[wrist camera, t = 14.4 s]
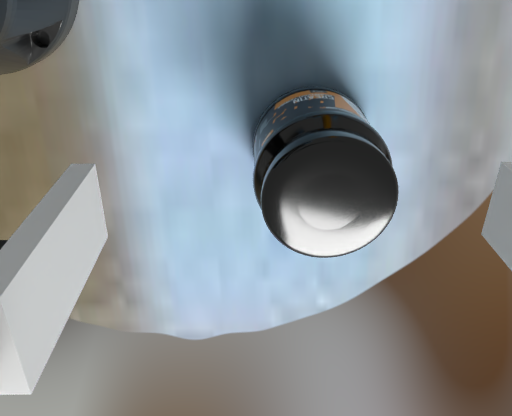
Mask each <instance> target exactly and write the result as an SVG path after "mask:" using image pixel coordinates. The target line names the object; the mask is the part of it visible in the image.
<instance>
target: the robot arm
mask: <svg viewBox="0 0 512 416" xmlns="http://www.w3.org/2000/svg"><path fill="white" fill-rule="evenodd" d="M78 4H79V0H0V75H1V74H8V73H13V72H17V71H20V70H23V69H25V68H28V67H30V66H32V65H34V64H36V63H37V62H39V61H41V60H43V59H45V58H46V57H48V56H49V55H50V54H52V53H53V52H54V51H55V50H56V49H57V48H58V47H59V46H60V45H61V44H62V42H63V41H64V40H65V38H66V37H67V35H68V33H69V31H70V30H71V28H72V25H73V23H74V20H75V17H76V14H77V9H78ZM482 236H483V237H484V238H485V239H486V240H487V242H488V243H489V244H490V245H491V246H492V248H493V249H494V250H495V251H496V252H497V254H498V255H499V256H500V257H501V259H502V260H503V261H504V262H505V263H506V264H507V266H508V267H509V268H510V269H511V271H512V162H501V164H500V168H499V172H498V175H497V179H496V183H495V186H494V190H493V194H492V197H491V201H490V205H489V208H488V212H487V216H486V219H485V223H484V227H483V230H482ZM107 238H108V234H107V228H106V223H105V217H104V211H103V205H102V200H101V194H100V188H99V183H98V177H97V171H96V166H95V164H71V165H70V166H69V167H68V168H67V170H66V171H65V172H64V173H63V174H62V176H61V177H60V178H59V179H58V180H57V182H56V183H55V184H54V185H53V186H52V188H51V189H50V190H49V191H48V193H47V194H46V195H45V196H44V197H43V199H42V200H41V201H40V202H39V203H38V205H37V206H36V207H35V208H34V210H33V211H32V212H31V213H30V214H29V216H28V217H27V218H26V219H25V220H24V222H23V223H22V224H21V225H20V226H19V228H18V229H17V230H16V231H15V233H14V234H13V235H12V236H11V237H10V239H9V240H0V395H5V394H6V395H8V394H32V392H33V390H34V388H35V386H36V384H37V381H38V379H39V377H40V375H41V373H42V371H43V369H44V367H45V365H46V363H47V361H48V359H49V357H50V355H51V353H52V351H53V349H54V347H55V345H56V342H57V340H58V338H59V336H60V334H61V332H62V330H63V328H64V326H65V324H66V322H67V320H68V318H69V316H70V314H71V312H72V310H73V308H74V305H75V303H76V301H77V299H78V297H79V295H80V293H81V291H82V289H83V287H84V285H85V283H86V281H87V279H88V277H89V275H90V273H91V271H92V268H93V266H94V264H95V262H96V260H97V258H98V256H99V254H100V252H101V250H102V248H103V246H104V244H105V242H106V240H107Z"/></svg>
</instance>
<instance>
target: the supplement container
mask: <svg viewBox="0 0 512 416" xmlns="http://www.w3.org/2000/svg"><path fill="white" fill-rule="evenodd" d="M253 155H254V172H253V187H254V192H255V196H256V199H257V202H258V204H259V206H260V208H261V210H262V214H263V217H264V220H265V222H266V225H267V227H268V228H269V230H270V232H271V233H272V234H273V235H274V237H275V238H276V239H277V240H278V241H279V242H281V243H282V244H283V245H284V246H286V247H287V248H289V249H291V250H293V251H295V252H297V253H300V254H303V255H306V256H311V257H319V258H328V257H337V256H342V255H346V254H349V253H352V252H355V251H357V250H359V249H361V248H363V247H365V246H366V245H368V244H369V243H371V242H372V241H373V240H374V239H376V238H377V237H378V236H379V235H380V234H381V233H382V232H383V230H384V229H385V228H386V227H387V225H388V224H389V222H390V220H391V219H392V217H393V214H394V212H395V209H396V206H397V201H398V182H397V178H396V174H395V172H394V169H393V166H392V160H391V156H390V152H389V150H388V148H387V145H386V144H385V142H384V140H383V139H382V137H381V136H380V135H379V133H378V132H377V131H376V130H375V129H374V128H373V127H372V126H371V125H370V124H369V122H368V121H367V119H366V117H365V115H364V114H363V112H362V111H361V109H360V108H359V107H358V106H357V104H356V103H355V102H354V101H352V100H351V99H350V98H349V97H347V96H346V95H344V94H342V93H340V92H338V91H335V90H333V89H329V88H324V87H306V88H300V89H297V90H294V91H291V92H289V93H287V94H285V95H283V96H281V97H280V98H278V99H277V100H276V101H274V102H273V103H272V104H271V105H270V106H269V107H268V108H267V109H266V111H265V112H264V113H263V115H262V116H261V118H260V120H259V122H258V124H257V127H256V129H255V133H254V138H253Z"/></svg>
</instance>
